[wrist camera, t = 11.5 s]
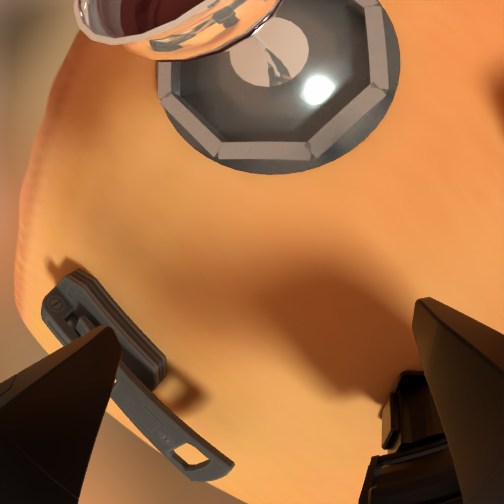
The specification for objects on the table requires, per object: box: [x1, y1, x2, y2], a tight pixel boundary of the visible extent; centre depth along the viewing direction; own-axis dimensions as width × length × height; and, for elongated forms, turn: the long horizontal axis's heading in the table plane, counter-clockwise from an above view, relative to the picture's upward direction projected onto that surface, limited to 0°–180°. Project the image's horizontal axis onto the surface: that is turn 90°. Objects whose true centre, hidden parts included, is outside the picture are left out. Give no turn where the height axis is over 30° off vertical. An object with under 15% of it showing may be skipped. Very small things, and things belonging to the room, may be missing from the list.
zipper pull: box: [41, 269, 235, 482], centre depth 26 cm, size 9×7×25 cm
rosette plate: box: [156, 0, 400, 175], centre depth 15 cm, size 16×16×2 cm
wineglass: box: [74, 0, 309, 87], centre depth 10 cm, size 7×7×12 cm
